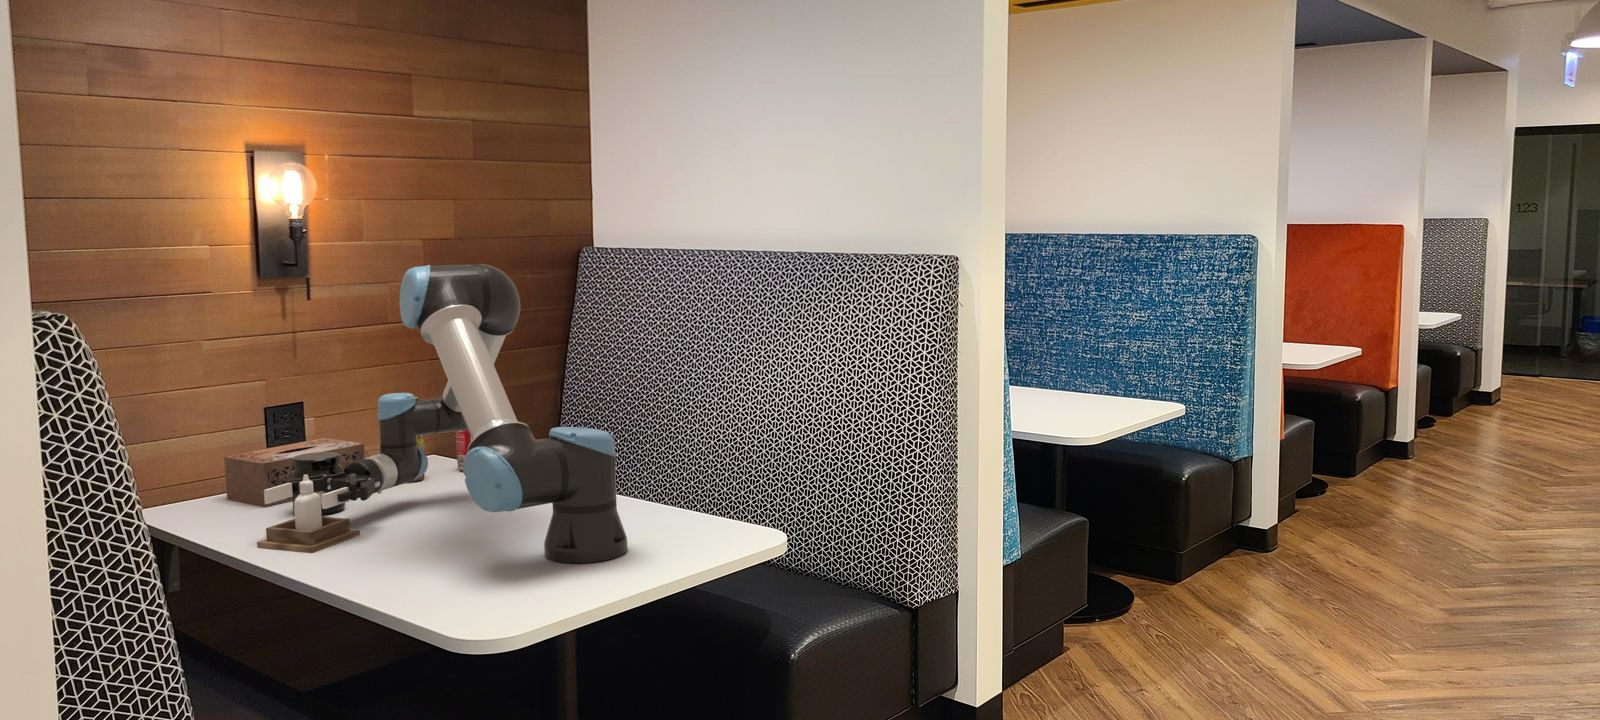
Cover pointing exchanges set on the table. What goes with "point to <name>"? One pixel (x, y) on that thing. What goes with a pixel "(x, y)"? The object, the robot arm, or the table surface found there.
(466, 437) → the soda can
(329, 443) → the tissue box cover
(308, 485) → the eye dropper bottle
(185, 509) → the table surface
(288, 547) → the square wooden tray stand
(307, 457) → the supplement container
